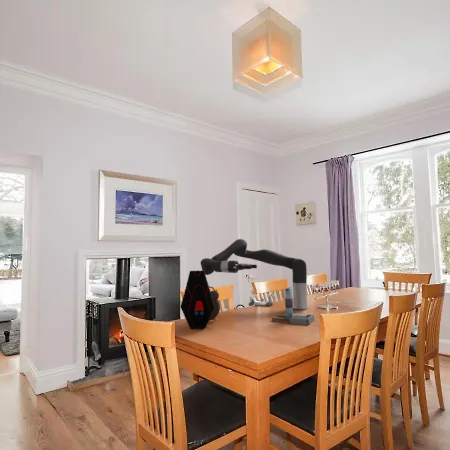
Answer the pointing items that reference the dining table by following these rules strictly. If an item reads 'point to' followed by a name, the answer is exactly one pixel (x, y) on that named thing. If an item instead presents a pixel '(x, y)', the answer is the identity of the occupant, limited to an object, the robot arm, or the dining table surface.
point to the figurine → (197, 301)
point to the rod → (288, 302)
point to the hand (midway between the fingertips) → (253, 266)
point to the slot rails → (281, 319)
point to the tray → (302, 320)
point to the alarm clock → (217, 304)
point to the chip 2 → (303, 316)
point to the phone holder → (258, 302)
